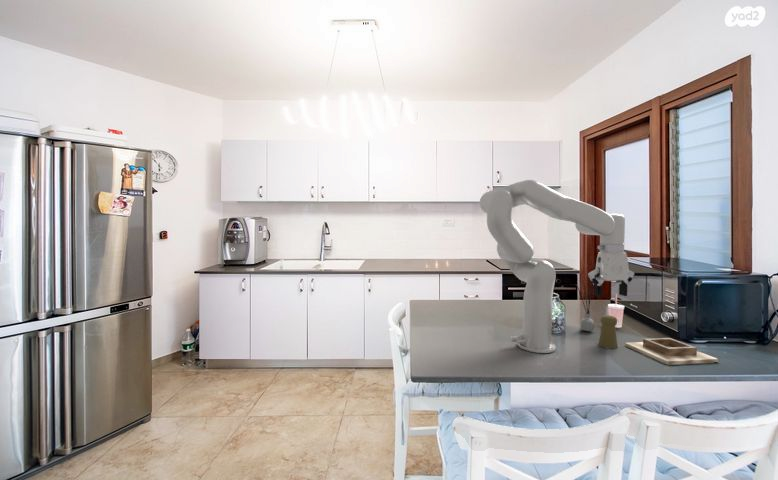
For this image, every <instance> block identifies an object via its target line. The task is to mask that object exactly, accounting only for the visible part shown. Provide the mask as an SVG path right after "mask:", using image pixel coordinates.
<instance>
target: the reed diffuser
mask: <svg viewBox="0 0 778 480" xmlns="http://www.w3.org/2000/svg"><path fill="white" fill-rule="evenodd" d="M584 285H586V282H584ZM576 286H577V290H578V293H579V295H580V298H581V301H582V304H583V307H584V310H585V313H584V317H582V318H581V320H580V330H582V331H585V332H593V331H594V330H595V322H594V320H593V319H592V318H591V313H590V304H591V297H592V288H593V286H592V285H591V287H590V291H589V299H588V298H587V296H585V302H586V305H588V306H586V305H585V302H584V301H583V300H584V299H583V297H582V294H581V292H580V287H579V285H578V284H576ZM584 292H585V294H584V295H587V289H586V286H584ZM587 299H588V300H587Z"/></svg>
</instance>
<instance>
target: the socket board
mask: <svg viewBox="0 0 778 480" xmlns="http://www.w3.org/2000/svg"><path fill="white" fill-rule="evenodd" d="M642 340H643V341H638V342H637V341H635V342H634V341H632V342H625V343H624V346H625V347H626V348H629V349H631V350H633V351H635V352H638V353H640V354H642V355H644V356H646V357H648V358H652V359H653V360H655V361H658V362H659V363H662V364H665V365H667V366H673V365H676V366H677V365H695V364H696V365H697V364H713V363H714V362H718V363H719V359H718V358H717V357H714V356H711V355H708V354H706V353H703V352H701V351H698V348H697V347H696V346H693V345H691V344H688V343H686V342H683V341H680V340H677V339H674V338H671V337H660V338H659V337H658V338H653V337H652V338H643V339H642ZM714 364H715V363H714Z"/></svg>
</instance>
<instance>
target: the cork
mask: <svg viewBox="0 0 778 480" xmlns="http://www.w3.org/2000/svg"><path fill="white" fill-rule="evenodd" d="M600 323H601V329H600V332H599V333H600V335H599V338H598V346H600V347H601V348H607V349H617V348H618V347H619V346H618V338H617V330H616V328H617V327H615V325H616V324H617V319H616V317H614V316H610V315H609V314H605V315H602V316H601V317H600Z"/></svg>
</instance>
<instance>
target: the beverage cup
mask: <svg viewBox="0 0 778 480" xmlns="http://www.w3.org/2000/svg"><path fill="white" fill-rule="evenodd" d="M607 308H608V315H610V316H614V317H616V319H617V324H616V325H615V328H619V329H620V328H623V327H622V326H623V318H624V310H625V305H622V304H618V293H615V303H609V304H607Z"/></svg>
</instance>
